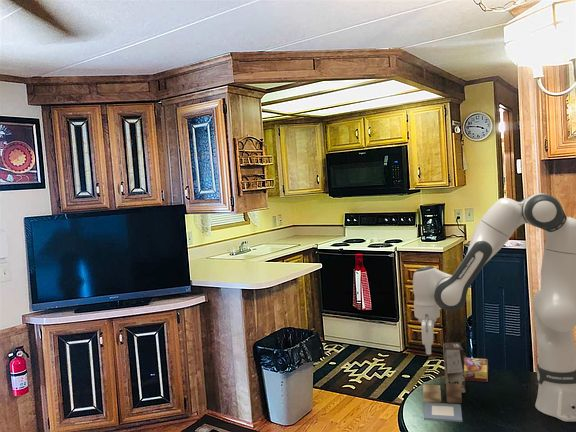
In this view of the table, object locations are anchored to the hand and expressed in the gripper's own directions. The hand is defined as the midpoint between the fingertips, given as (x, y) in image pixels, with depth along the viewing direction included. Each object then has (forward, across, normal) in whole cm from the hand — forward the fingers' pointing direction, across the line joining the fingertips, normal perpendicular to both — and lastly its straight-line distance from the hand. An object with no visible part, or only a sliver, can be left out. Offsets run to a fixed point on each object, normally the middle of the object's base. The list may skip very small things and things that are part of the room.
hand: (428, 349), depth 175 cm
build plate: (+18, -11, -4) cm, 21 cm away
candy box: (+16, +18, -16) cm, 29 cm away
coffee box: (+18, +11, -9) cm, 23 cm away
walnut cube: (+18, 0, -8) cm, 20 cm away
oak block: (+18, 0, 0) cm, 18 cm away
